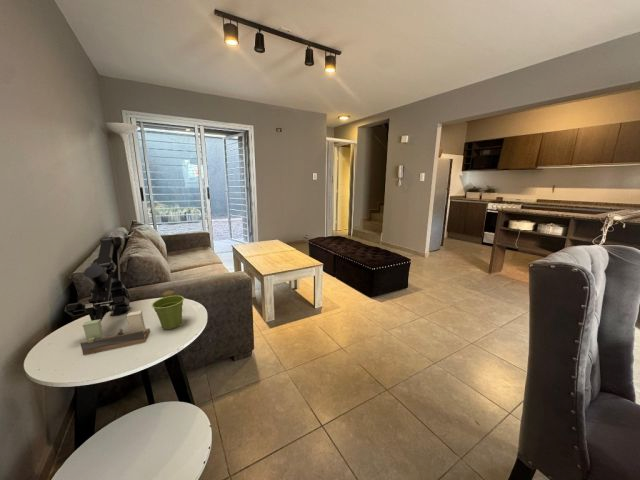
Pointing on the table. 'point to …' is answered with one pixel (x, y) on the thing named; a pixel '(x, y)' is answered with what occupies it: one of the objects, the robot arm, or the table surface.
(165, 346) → the table surface
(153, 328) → the table surface
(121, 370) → the table surface
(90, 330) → the pale green tall block
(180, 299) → the plant pot
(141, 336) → the brown wooden rack
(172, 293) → the cork
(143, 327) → the beige rectangular block
